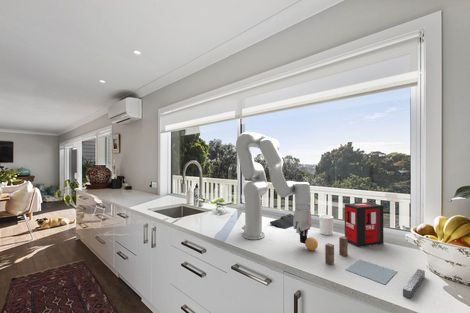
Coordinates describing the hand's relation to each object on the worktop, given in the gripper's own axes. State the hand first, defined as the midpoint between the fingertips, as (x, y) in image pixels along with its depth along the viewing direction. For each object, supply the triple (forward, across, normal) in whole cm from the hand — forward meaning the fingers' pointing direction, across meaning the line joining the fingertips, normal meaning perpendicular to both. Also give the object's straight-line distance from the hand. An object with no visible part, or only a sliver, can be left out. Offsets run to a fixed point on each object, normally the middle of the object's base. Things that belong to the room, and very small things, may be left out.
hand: (303, 242), depth 116 cm
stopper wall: (+3, +1, +45) cm, 45 cm away
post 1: (+3, +7, +17) cm, 19 cm away
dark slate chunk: (+2, -26, -31) cm, 40 cm away
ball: (-1, 0, +5) cm, 5 cm away
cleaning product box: (+3, -30, +18) cm, 34 cm away
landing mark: (+3, +1, +31) cm, 31 cm away
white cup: (+3, -28, -2) cm, 28 cm away
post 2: (+3, -6, +17) cm, 18 cm away
